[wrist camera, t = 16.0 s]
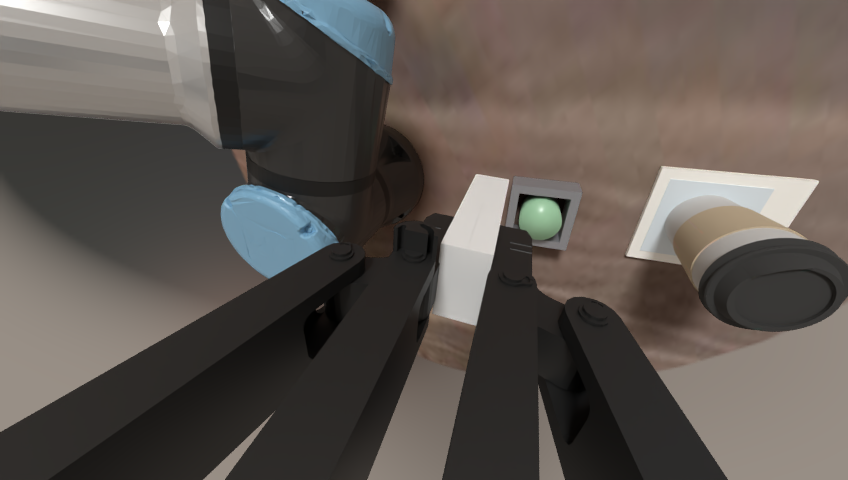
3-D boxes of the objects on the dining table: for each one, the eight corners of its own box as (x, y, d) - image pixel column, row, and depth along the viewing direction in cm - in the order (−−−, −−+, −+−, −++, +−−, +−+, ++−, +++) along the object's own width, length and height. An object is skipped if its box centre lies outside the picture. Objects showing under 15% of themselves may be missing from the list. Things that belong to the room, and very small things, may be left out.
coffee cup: (753, 244, 36) (869, 341, 24) (660, 261, 40) (716, 351, 28) (748, 173, 33) (878, 241, 20) (647, 199, 37) (705, 268, 25)
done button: (517, 223, 43) (515, 236, 40) (523, 189, 41) (522, 200, 38) (554, 228, 42) (556, 242, 39) (563, 194, 40) (566, 206, 36)
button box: (505, 229, 45) (503, 240, 42) (513, 176, 41) (512, 184, 38) (563, 237, 43) (565, 250, 40) (578, 183, 39) (582, 192, 36)
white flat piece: (625, 253, 42) (626, 256, 41) (660, 166, 36) (662, 167, 35) (751, 273, 38) (755, 276, 37) (814, 179, 32) (820, 181, 31)
